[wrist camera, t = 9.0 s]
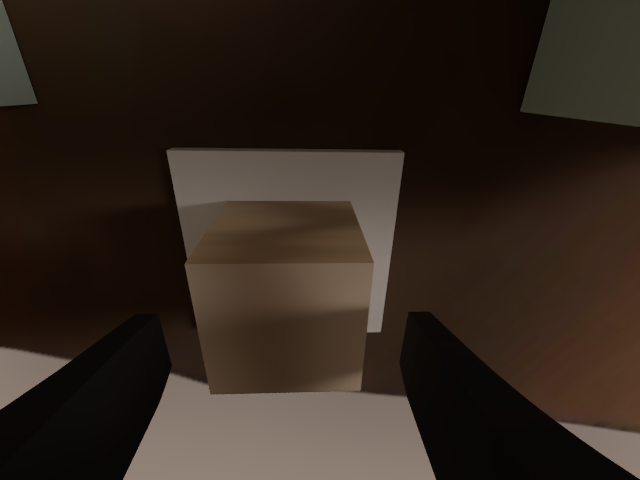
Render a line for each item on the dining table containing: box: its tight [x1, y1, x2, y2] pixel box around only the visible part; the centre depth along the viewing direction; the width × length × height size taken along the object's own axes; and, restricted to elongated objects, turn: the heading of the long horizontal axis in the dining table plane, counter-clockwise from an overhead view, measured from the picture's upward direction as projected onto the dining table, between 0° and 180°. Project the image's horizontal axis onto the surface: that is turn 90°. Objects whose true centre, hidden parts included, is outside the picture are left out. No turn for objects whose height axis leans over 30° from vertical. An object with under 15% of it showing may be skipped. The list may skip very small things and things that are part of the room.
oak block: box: [185, 201, 374, 394], centre depth 12 cm, size 5×5×5 cm
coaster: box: [166, 147, 405, 332], centre depth 14 cm, size 9×9×1 cm
